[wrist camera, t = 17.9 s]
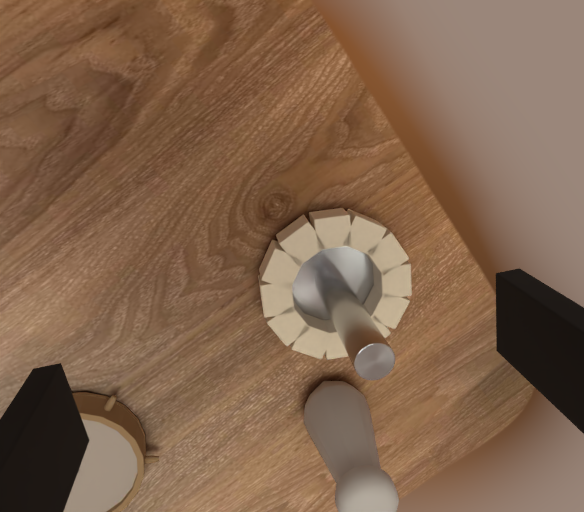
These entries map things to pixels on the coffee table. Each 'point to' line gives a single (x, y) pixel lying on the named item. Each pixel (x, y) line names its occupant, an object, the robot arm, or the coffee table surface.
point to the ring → (309, 241)
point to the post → (345, 305)
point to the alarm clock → (108, 456)
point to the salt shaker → (349, 448)
